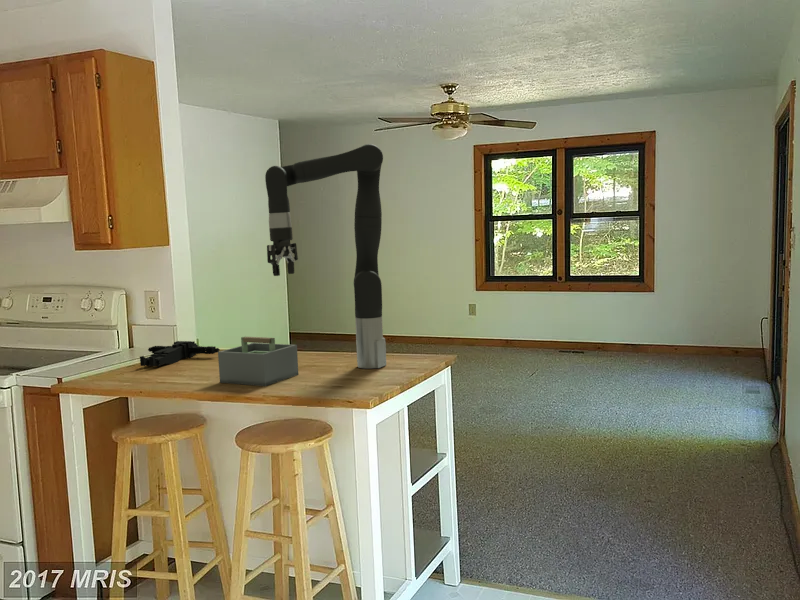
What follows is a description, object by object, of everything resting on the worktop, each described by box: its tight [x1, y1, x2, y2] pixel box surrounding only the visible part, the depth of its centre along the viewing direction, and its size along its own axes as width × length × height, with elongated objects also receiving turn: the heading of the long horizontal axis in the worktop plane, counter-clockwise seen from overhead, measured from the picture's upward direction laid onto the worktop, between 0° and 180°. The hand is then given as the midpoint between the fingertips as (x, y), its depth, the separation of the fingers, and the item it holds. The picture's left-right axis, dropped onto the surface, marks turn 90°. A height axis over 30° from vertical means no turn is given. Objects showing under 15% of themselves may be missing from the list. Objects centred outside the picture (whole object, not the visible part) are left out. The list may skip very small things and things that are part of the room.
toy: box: [139, 340, 221, 367], centre depth 272 cm, size 31×6×30 cm
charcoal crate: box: [217, 342, 299, 387], centre depth 234 cm, size 18×18×10 cm
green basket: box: [240, 336, 276, 354], centre depth 233 cm, size 12×11×12 cm
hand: (284, 274), depth 242 cm, fingers open, 8 cm apart
